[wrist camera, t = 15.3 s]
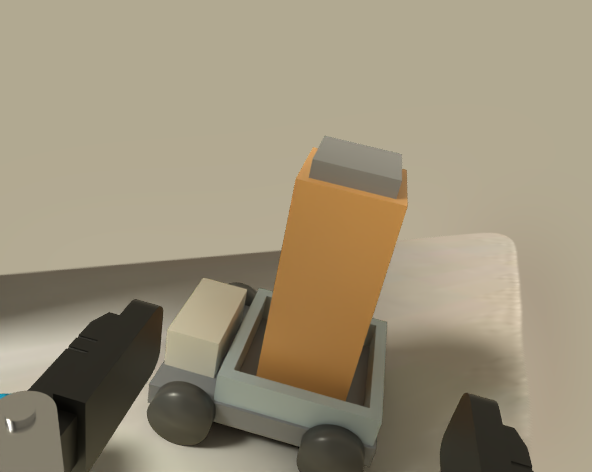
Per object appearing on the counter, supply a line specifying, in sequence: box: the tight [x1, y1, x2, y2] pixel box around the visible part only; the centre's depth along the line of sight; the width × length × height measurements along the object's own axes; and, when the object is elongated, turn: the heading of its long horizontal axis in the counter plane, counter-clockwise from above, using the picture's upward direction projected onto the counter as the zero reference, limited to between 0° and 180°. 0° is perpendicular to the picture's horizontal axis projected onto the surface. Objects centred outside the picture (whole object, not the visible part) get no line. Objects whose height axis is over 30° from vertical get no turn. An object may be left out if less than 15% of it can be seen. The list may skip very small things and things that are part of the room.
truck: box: [147, 278, 387, 472], centre depth 27 cm, size 11×10×4 cm
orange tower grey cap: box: [256, 136, 408, 401], centre depth 25 cm, size 4×4×12 cm
